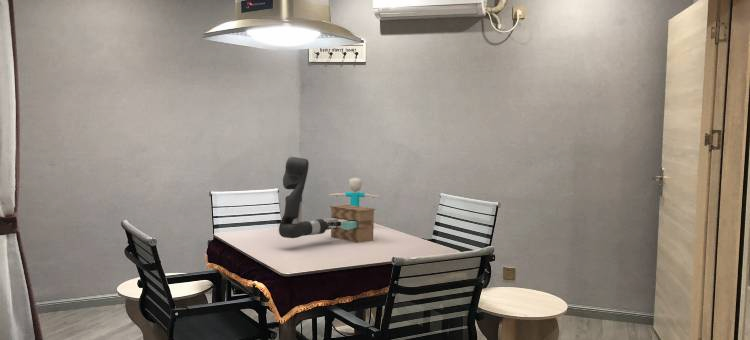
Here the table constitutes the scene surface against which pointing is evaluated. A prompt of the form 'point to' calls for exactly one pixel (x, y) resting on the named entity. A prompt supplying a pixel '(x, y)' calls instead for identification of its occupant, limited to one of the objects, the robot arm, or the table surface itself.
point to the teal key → (350, 225)
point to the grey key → (331, 220)
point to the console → (354, 214)
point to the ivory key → (342, 222)
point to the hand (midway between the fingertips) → (339, 223)
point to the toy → (354, 186)
